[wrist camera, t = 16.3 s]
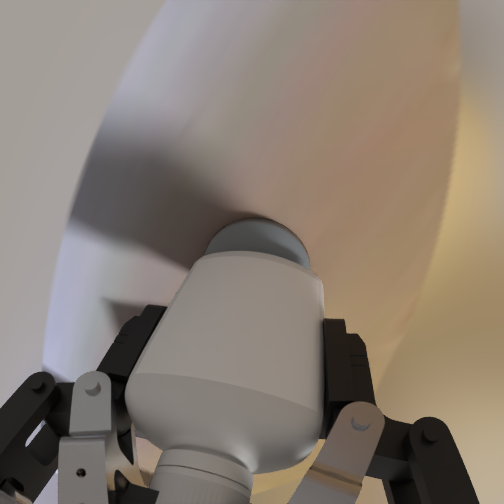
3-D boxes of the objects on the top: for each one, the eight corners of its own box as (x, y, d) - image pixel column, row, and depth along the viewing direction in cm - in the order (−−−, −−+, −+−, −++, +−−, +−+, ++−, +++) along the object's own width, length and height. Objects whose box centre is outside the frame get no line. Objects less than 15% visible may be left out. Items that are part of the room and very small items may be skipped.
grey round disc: (305, 311, 16) (305, 318, 16) (209, 305, 17) (207, 312, 16) (313, 220, 14) (314, 226, 13) (201, 216, 14) (197, 221, 14)
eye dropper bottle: (231, 210, 13) (56, 538, 2) (338, 286, 14) (340, 597, 3) (182, 279, 15) (49, 524, 4) (277, 341, 16) (231, 587, 5)
